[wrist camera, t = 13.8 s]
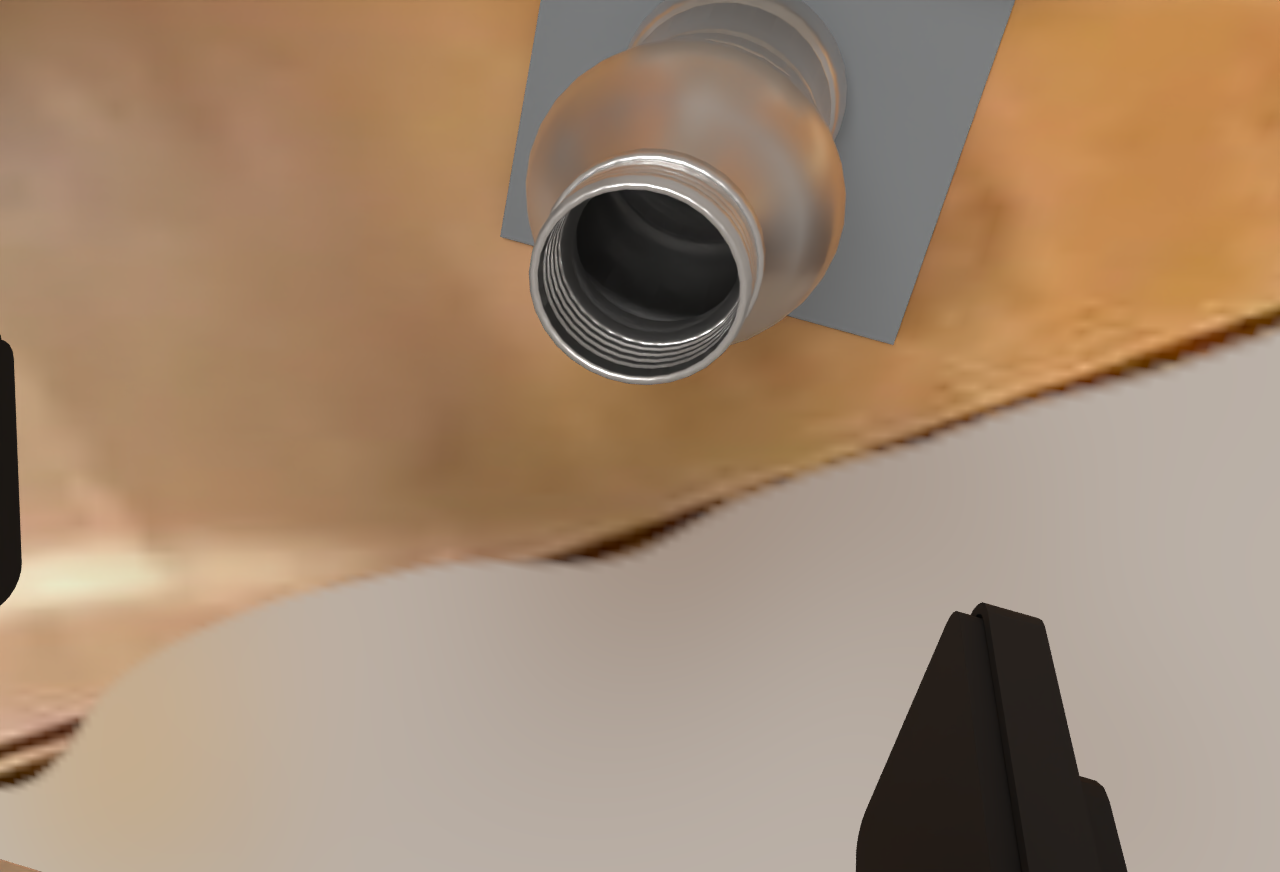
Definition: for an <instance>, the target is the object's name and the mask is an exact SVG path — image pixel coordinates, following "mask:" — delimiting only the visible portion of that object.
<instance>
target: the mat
mask: <svg viewBox="0 0 1280 872" xmlns="http://www.w3.org/2000/svg"><path fill="white" fill-rule="evenodd" d="M663 1H664V0H541V2H540V8H539V14H538V20H537V26H536V32H535V37H534V43H533V49H532V55H531V61H530V66H529V72H528V78H527V84H526V90H525V96H524V101H523V107H522V113H521V119H520V125H519V131H518V136H517V142H516V148H515V154H514V160H513V165H512V171H511V177H510V183H509V189H508V195H507V200H506V206H505V212H504V218H503V224H502V229H501V235H500V237H503V238H507V239H510V240H514V241H518V242H521V243H525V244H529V245H532V246H534V244H535V243H534V239H533V236H532V232H531V228H530V224H529V219H528V213H527V197H526V177H527V170H528V163H529V156H530V152H531V149H532V146H533V143H534V141H535V138H536V135H537V133H538V130H539V127H540V125H541V123H542V121H543V120H544V118H545V117H546V115H547V114H548V112H549V110H550V109H551V107H552V106H553V104H554V102H555V101H556V99H557V98H558V97H559V96H560V95H561V94H562V93H563V92H564V91H565V90H566V89H567V88H568V87H569V86H570V85H571V84H572V83H573V82H574V81H575V80H576V79H577V78H578V77H579V76H581V75H582V74H584V73H585V72H586V71H588V70H589V69H591V68H592V67H594V66H595V65H597V64H598V63H600V62H601V61H603V60H605V59H607V58H609V57H611V56H613V55H615V54H618V53H620V52H623V51H625V50H627V49H628V46H629V44H630V41H631V39H632V37H633V36H634V34H635V33H636V31H637V29H638V28H639V26H640V25H641V23H642V22H643V20H644V19H645V18H646V17H647V16H648V15H649V14H650V13H651V12H652V11H653V10H654V9H655V8H656V7H657V6H658V5H659V4H660V3H662V2H663ZM801 1H802V2H804V3H805V4H807V5H808V6H809V7H810V8H811V9H812V10H813V11H814V12H815V13H816V14H817V16H818V17H819V18H820V19H821V20H822V21H823V22H824V23H825V25H826V27H827V28H828V30H829V31H830V33H831V35H832V36H833V38H834V40H835V41H836V44H837V46H838V49H839V52H840V55H841V58H842V60H843V63H844V70H845V77H846V84H847V91H846V107H845V111H844V115H843V119H842V123H841V126H840V130H839V132H838V134H837V136H836V138H835V140H834V142H835V145H836V148H837V150H838V153H839V157H840V160H841V163H842V170H843V177H844V183H845V190H846V201H845V217H844V226H843V229H842V233H841V237H840V240H839V244H838V248H837V251H836V254H835V256H834V258H833V259H832V261H831V263H830V265H829V267H828V269H827V271H826V273H825V275H824V277H823V278H822V280H821V281H820V282H819V284H818V285H817V286H816V287H815V288H814V290H813V291H812V292H811V293H810V295H809V296H808V297H807V298H806V299H805V301H804V302H803V303H802V304H800V305H799V306H798V307H797V308H795V309H794V310H793V311H792V312H790V313H789V314H788V315H787V316H790V317H794V318H798V319H801V320H805V321H808V322H812V323H816V324H819V325H823V326H827V327H830V328H834V329H838V330H841V331H845V332H848V333H852V334H856V335H859V336H863V337H867V338H870V339H874V340H878V341H881V342H885V343H888V344H892V345H893V344H894V341H895V338H896V336H897V333H898V330H899V327H900V324H901V322H902V319H903V316H904V313H905V310H906V307H907V305H908V302H909V299H910V296H911V293H912V290H913V288H914V285H915V282H916V279H917V276H918V273H919V271H920V268H921V265H922V262H923V259H924V256H925V254H926V251H927V248H928V245H929V242H930V239H931V237H932V234H933V231H934V228H935V225H936V222H937V220H938V217H939V214H940V211H941V208H942V205H943V203H944V200H945V197H946V194H947V191H948V188H949V186H950V183H951V180H952V177H953V174H954V172H955V169H956V166H957V163H958V160H959V157H960V155H961V152H962V149H963V146H964V143H965V140H966V138H967V135H968V132H969V129H970V126H971V123H972V121H973V118H974V115H975V112H976V109H977V106H978V104H979V101H980V98H981V95H982V92H983V89H984V87H985V84H986V81H987V78H988V75H989V72H990V70H991V67H992V64H993V61H994V58H995V55H996V53H997V50H998V47H999V44H1000V41H1001V38H1002V36H1003V33H1004V30H1005V27H1006V24H1007V22H1008V19H1009V16H1010V13H1011V10H1012V7H1013V5H1014V2H1015V0H801Z"/></svg>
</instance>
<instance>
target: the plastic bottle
mask: <svg viewBox="0 0 1280 872" xmlns="http://www.w3.org/2000/svg"><path fill="white" fill-rule="evenodd" d="M846 91H847V84H846V77H845V70H844V63H843V60H842V58H841V55H840V52H839V49H838V46H837V44H836V41H835V40H834V38H833V36H832V35H831V33H830V31H829V30H828V28H827V27H826V25H825V23H824V22H823V21H822V20H821V19H820V18H819V17H818V16H817V14H816V13H815V12H814V11H813V10H812V9H811V8H810V7H809V6H808V5H807V4H805V3H804V2H802V1H801V0H664V1H663V2H662V3H660V4H659V5H658V6H657V7H656V8H655V9H654V10H653V11H652V12H651V13H650V14H649V15H648V16H647V17H646V18H645V19H644V20H643V22H642V23H641V25H640V26H639V28H638V29H637V31H636V33H635V34H634V36H633V37H632V39H631V41H630V44H629V46H628V49H627V50H625V51H623V52H620V53H618V54H615V55H613V56H611V57H609V58H607V59H605V60H603V61H601V62H600V63H598V64H597V65H595V66H594V67H592V68H591V69H589V70H588V71H586V72H585V73H584V74H582V75H581V76H579V77H578V78H577V79H576V80H575V81H574V82H573V83H572V84H571V85H570V86H569V87H568V88H567V89H566V90H565V91H564V92H563V93H562V94H561V95H560V96H559V97H558V98H557V99H556V101H555V102H554V104H553V106H552V107H551V109H550V110H549V112H548V114H547V115H546V117H545V118H544V120H543V121H542V123H541V125H540V127H539V130H538V133H537V135H536V138H535V141H534V143H533V146H532V149H531V152H530V156H529V163H528V170H527V177H526V197H527V213H528V219H529V224H530V228H531V232H532V236H533V239H534V243H535V244H534V247H533V251H532V256H531V262H530V269H529V280H530V293H531V297H532V300H533V304H534V308H535V311H536V313H537V315H538V317H539V319H540V321H541V323H542V326H543V328H544V329H545V331H546V332H547V333H548V335H549V336H550V337H551V339H552V340H553V341H554V343H555V344H556V345H557V346H558V347H559V348H560V349H561V350H562V351H563V352H564V353H565V354H566V355H567V356H568V357H570V358H571V359H572V360H573V361H575V362H576V363H578V364H579V365H581V366H583V367H584V368H586V369H587V370H589V371H591V372H593V373H596V374H598V375H600V376H603V377H605V378H607V379H611V380H615V381H620V382H624V383H628V384H643V385H652V384H661V383H669V382H673V381H676V380H679V379H682V378H685V377H689V376H691V375H692V374H694V373H696V372H698V371H700V370H702V369H704V368H706V367H707V366H708V365H710V364H711V363H712V362H713V361H714V360H716V359H717V358H718V357H719V356H720V355H722V353H723V352H724V351H725V350H726V349H727V348H728V347H729V345H732V344H735V343H738V342H742V341H745V340H747V339H749V338H751V337H753V336H755V335H757V334H759V333H760V332H762V331H764V330H766V329H768V328H770V327H771V326H773V325H775V324H776V323H778V322H779V321H781V320H782V319H783V318H784V317H786V316H787V315H788V314H789V313H790V312H792V311H793V310H794V309H795V308H797V307H798V306H799V305H800V304H802V303H803V302H804V301H805V299H806V298H807V297H808V296H809V295H810V293H811V292H812V291H813V290H814V288H815V287H816V286H817V285H818V284H819V282H820V281H821V280H822V278H823V277H824V275H825V273H826V271H827V269H828V267H829V265H830V263H831V261H832V259H833V258H834V256H835V254H836V251H837V248H838V244H839V240H840V237H841V233H842V229H843V226H844V217H845V201H846V190H845V183H844V177H843V170H842V163H841V160H840V157H839V153H838V150H837V148H836V145H835V142H834V140H835V138H836V136H837V134H838V132H839V130H840V126H841V123H842V119H843V115H844V111H845V107H846Z"/></svg>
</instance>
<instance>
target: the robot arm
mask: <svg viewBox="0 0 1280 872" xmlns="http://www.w3.org/2000/svg"><path fill="white" fill-rule="evenodd" d="M21 565H22V559H21V533H20V507H19V481H18V455H17V429H16V403H15V377H14V357H13V351H12V349H11V347H10V345H9V344H8V343H7V342H5V341H4V340H1V335H0V605H2V604H3V603H4V602H5V601H6V600H7V599H8V597H9V596H10V595H11V593H12V592H13V590H14V589H15V587H16V584H17V582H18V580H19V577H20V573H21ZM0 872H40V871H37V870H34V869H31V868H27V867H24V866H21V865H17V864H14V863H11V862H8V861H5V860H1V859H0ZM856 872H1127V868H1126V864H1125V860H1124V856H1123V853H1122V849H1121V845H1120V841H1119V837H1118V833H1117V829H1116V825H1115V821H1114V817H1113V813H1112V809H1111V806H1110V802H1109V799H1108V797H1107V794H1106V792H1105V789H1104V787H1103V786H1101V785H1100V784H1099V783H1098V782H1097V781H1095V780H1091V779H1088V778H1084V777H1081V776H1079V772H1078V768H1077V764H1076V760H1075V755H1074V751H1073V747H1072V742H1071V738H1070V734H1069V729H1068V725H1067V720H1066V716H1065V712H1064V708H1063V703H1062V699H1061V695H1060V690H1059V686H1058V681H1057V677H1056V673H1055V668H1054V664H1053V660H1052V655H1051V651H1050V646H1049V643H1048V638H1047V634H1046V629H1045V626H1044V623H1043V621H1042V620H1040V619H1039V618H1036V617H1032V616H1029V615H1025V614H1022V613H1018V612H1014V611H1011V610H1007V609H1004V608H1000V607H997V606H993V605H990V604H986V603H983V602H982V603H980V604H978V605H977V606H976V608H975V609H974V610H973V611H972V614H971V615H969V614H965V613H961V612H958V611H955V612H953V614H952V615H951V616H950V618H949V620H948V622H947V624H946V626H945V628H944V630H943V633H942V635H941V637H940V640H939V642H938V645H937V647H936V649H935V652H934V654H933V656H932V658H931V661H930V663H929V665H928V668H927V670H926V672H925V674H924V677H923V679H922V681H921V684H920V686H919V689H918V691H917V693H916V696H915V698H914V700H913V702H912V705H911V707H910V709H909V712H908V714H907V716H906V719H905V721H904V723H903V725H902V728H901V730H900V732H899V735H898V737H897V740H896V742H895V744H894V747H893V749H892V751H891V753H890V756H889V758H888V760H887V763H886V765H885V767H884V769H883V772H882V774H881V776H880V779H879V781H878V783H877V786H876V788H875V790H874V793H873V795H872V797H871V800H870V802H869V804H868V807H867V809H866V811H865V814H864V817H863V820H862V823H861V827H860V831H859V835H858V841H857V850H856Z"/></svg>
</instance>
